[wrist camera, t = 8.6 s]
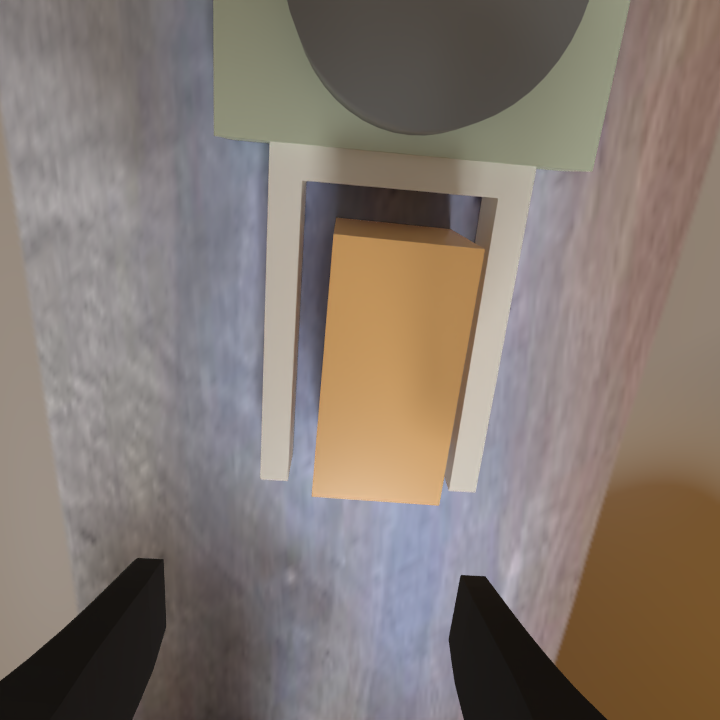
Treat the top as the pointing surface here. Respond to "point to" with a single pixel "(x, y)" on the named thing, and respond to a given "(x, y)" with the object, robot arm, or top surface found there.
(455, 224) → the top surface
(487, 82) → the green base with dome
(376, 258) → the chute block
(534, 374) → the top surface
